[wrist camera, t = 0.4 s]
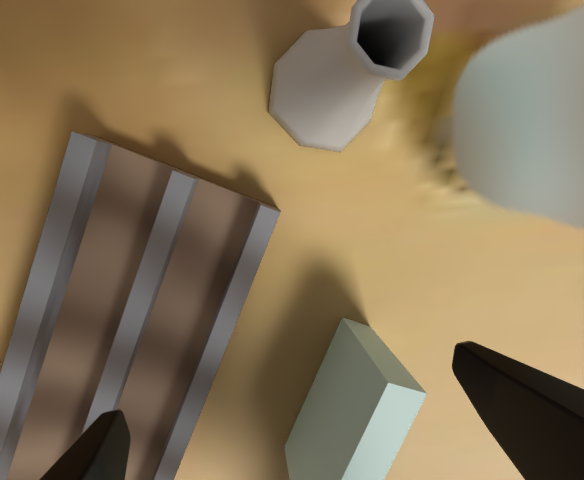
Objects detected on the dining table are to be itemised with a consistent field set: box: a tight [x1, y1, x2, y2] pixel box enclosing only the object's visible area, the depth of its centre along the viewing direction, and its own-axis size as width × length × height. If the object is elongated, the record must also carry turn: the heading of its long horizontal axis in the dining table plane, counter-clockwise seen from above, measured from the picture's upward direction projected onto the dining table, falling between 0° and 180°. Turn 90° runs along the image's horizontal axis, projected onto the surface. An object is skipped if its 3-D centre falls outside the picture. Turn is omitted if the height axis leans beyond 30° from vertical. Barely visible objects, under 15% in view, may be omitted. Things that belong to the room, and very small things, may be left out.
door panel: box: [284, 317, 427, 480], centre depth 22 cm, size 12×2×8 cm, turn 158°
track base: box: [0, 131, 281, 480], centre depth 21 cm, size 24×12×4 cm, turn 158°
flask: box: [268, 0, 435, 152], centre depth 16 cm, size 7×7×10 cm
